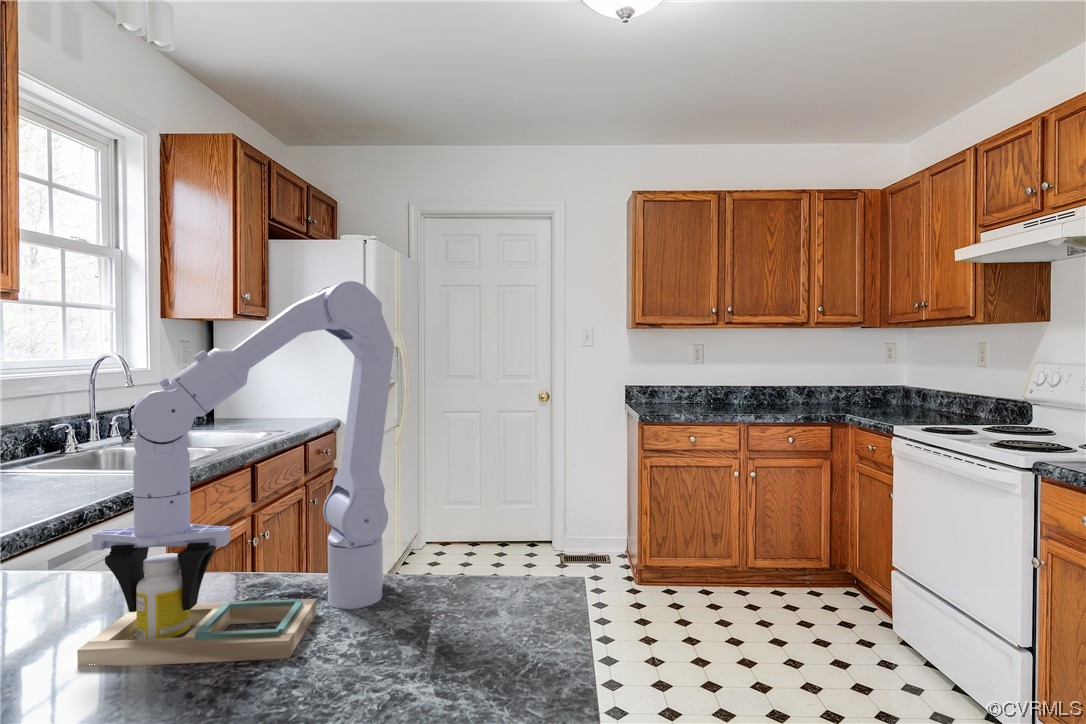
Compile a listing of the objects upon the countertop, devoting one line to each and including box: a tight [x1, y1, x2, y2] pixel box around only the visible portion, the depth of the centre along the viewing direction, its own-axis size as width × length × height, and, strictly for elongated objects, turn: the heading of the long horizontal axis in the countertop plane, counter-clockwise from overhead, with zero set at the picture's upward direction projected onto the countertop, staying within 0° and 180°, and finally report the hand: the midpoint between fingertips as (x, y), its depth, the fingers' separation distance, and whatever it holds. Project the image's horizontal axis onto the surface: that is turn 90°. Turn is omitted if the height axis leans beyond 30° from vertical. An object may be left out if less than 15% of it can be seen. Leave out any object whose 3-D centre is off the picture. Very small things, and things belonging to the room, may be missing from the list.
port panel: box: [76, 598, 318, 667], centre depth 75 cm, size 12×22×2 cm, turn 96°
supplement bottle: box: [136, 552, 191, 639], centre depth 75 cm, size 5×5×10 cm
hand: (163, 607), depth 75 cm, fingers closed on supplement bottle, 5 cm apart
